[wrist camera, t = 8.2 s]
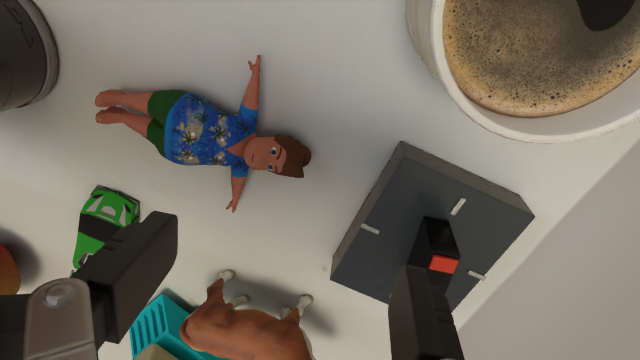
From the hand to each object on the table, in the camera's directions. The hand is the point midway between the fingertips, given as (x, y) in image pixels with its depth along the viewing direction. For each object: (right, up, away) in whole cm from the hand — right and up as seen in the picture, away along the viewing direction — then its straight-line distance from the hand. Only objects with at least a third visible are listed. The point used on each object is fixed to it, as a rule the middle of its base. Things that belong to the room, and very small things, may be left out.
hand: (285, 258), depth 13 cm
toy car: (-18, -2, +21) cm, 28 cm away
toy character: (-6, +7, +15) cm, 18 cm away
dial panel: (+9, -1, +17) cm, 19 cm away
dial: (+9, -3, +14) cm, 17 cm away
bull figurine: (-3, -8, +23) cm, 24 cm away
